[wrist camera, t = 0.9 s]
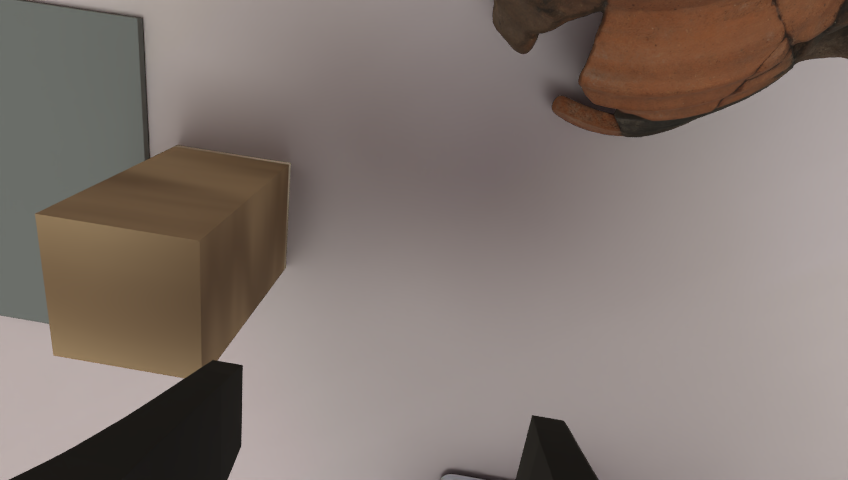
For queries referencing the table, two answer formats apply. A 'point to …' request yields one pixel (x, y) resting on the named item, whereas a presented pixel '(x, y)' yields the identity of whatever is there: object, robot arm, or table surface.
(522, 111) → the table surface
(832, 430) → the table surface
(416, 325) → the table surface
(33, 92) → the rubber mat
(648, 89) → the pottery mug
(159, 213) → the walnut block
